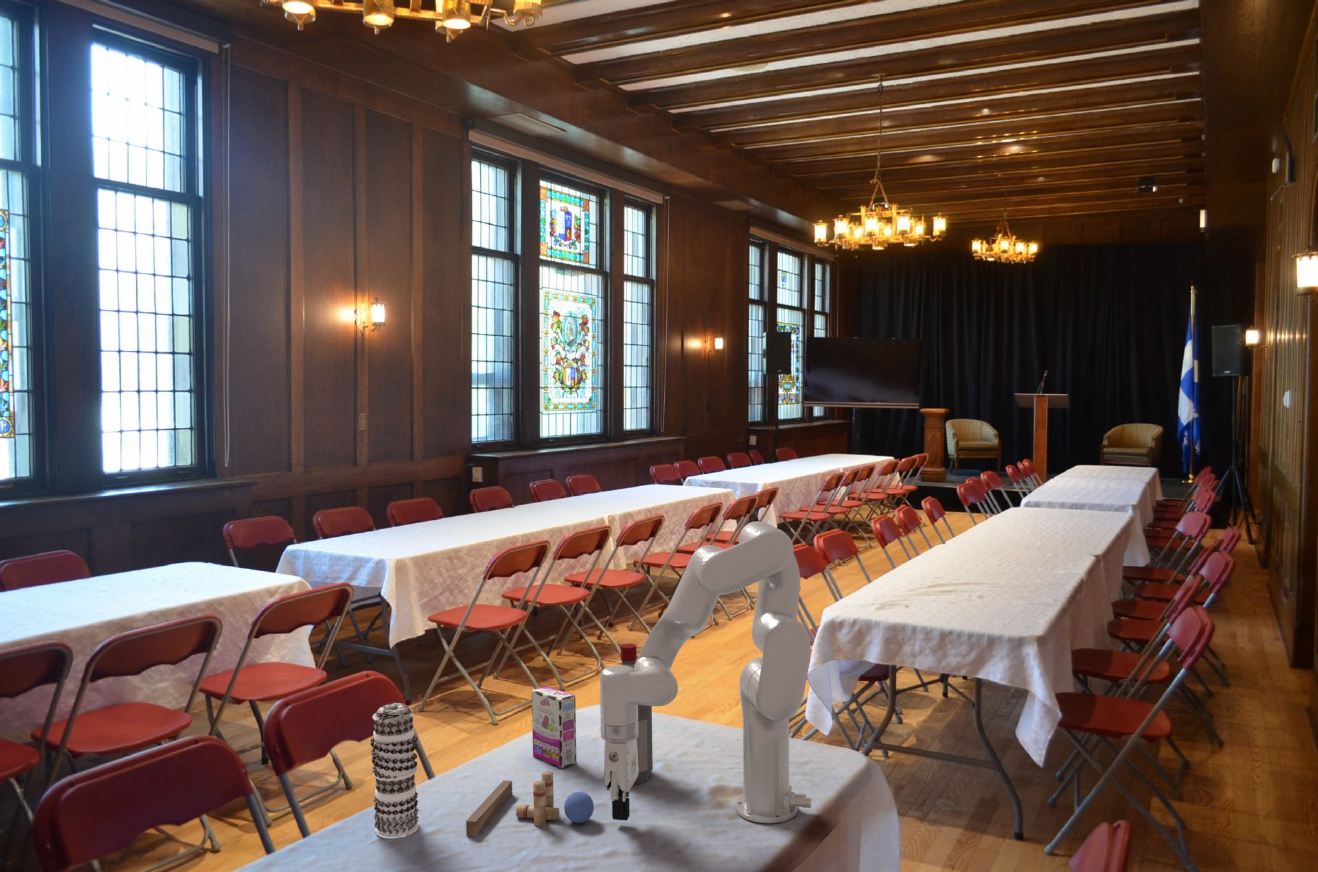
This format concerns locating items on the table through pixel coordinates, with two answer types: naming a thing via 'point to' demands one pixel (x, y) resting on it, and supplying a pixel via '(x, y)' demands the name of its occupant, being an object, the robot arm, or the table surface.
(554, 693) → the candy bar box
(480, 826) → the rail
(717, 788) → the table surface
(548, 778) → the pin
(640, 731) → the liquor
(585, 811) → the ball
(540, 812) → the pin
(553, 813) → the front pin
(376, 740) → the decorative candle
